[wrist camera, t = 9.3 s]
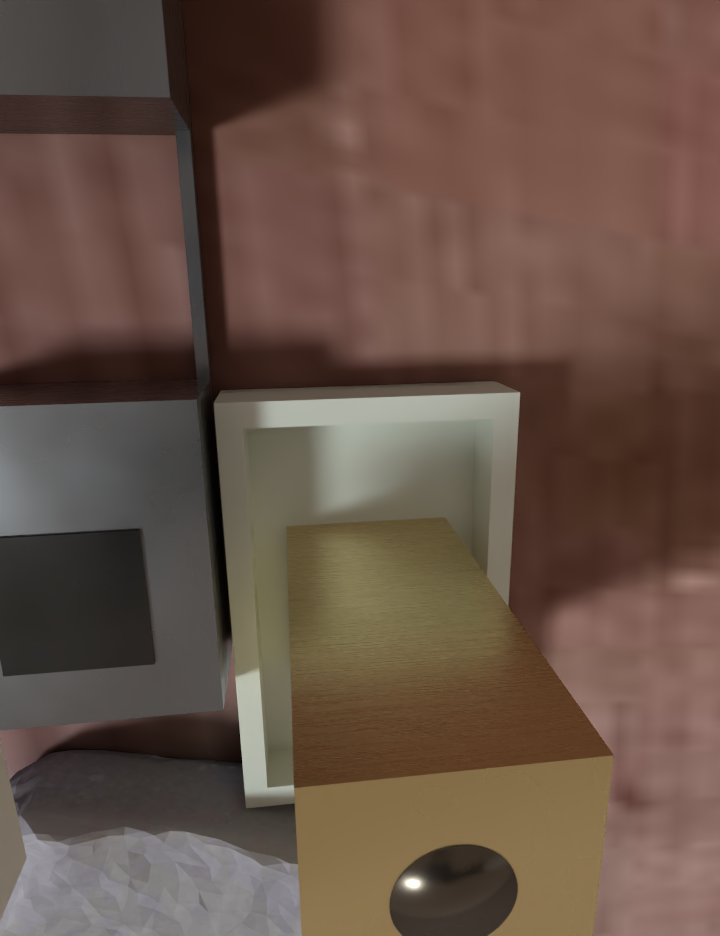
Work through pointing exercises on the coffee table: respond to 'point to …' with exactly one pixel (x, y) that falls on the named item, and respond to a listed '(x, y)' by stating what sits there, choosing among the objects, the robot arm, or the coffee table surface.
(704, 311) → the coffee table surface
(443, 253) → the coffee table surface
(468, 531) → the parts tray
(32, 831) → the stone block
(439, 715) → the wooden drawer with knob
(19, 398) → the rack rail
